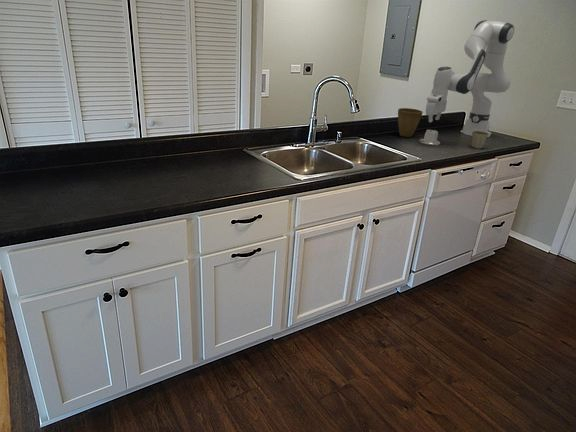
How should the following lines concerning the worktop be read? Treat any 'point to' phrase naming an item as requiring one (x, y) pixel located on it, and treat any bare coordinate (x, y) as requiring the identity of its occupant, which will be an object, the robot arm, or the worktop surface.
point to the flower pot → (478, 139)
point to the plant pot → (408, 121)
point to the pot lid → (429, 142)
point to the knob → (431, 136)
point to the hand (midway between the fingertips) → (433, 120)
